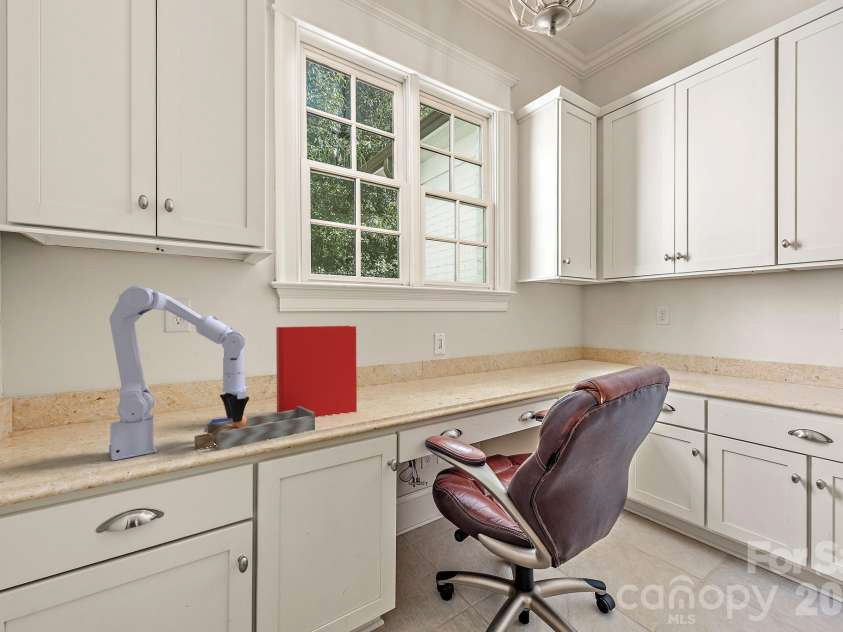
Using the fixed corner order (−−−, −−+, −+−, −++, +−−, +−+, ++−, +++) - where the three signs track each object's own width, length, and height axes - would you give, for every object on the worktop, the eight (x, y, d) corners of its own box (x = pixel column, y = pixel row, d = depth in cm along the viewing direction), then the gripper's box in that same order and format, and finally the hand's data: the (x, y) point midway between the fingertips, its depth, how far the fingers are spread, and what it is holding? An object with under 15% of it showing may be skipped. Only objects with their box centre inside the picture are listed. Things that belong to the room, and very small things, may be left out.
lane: (218, 465, 105) (217, 429, 105) (207, 453, 114) (207, 421, 114) (315, 442, 124) (314, 412, 124) (299, 434, 132) (299, 405, 132)
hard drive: (211, 419, 133) (206, 429, 122) (237, 416, 136) (235, 426, 125) (211, 423, 133) (206, 434, 122) (237, 421, 136) (235, 431, 125)
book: (350, 407, 153) (349, 325, 153) (356, 411, 146) (356, 326, 146) (276, 416, 141) (275, 327, 140) (279, 421, 133) (279, 327, 133)
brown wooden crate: (197, 450, 106) (197, 439, 106) (194, 446, 109) (194, 435, 109) (214, 446, 108) (214, 436, 108) (210, 443, 111) (210, 432, 111)
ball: (230, 425, 111) (239, 412, 112) (226, 422, 114) (235, 410, 116) (242, 431, 113) (251, 419, 115) (238, 428, 116) (246, 416, 118)
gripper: (256, 374, 111) (257, 422, 111) (240, 368, 121) (241, 412, 122) (229, 376, 106) (230, 427, 106) (216, 371, 117) (216, 416, 117)
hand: (234, 419), depth 113 cm, fingers open, 5 cm apart
